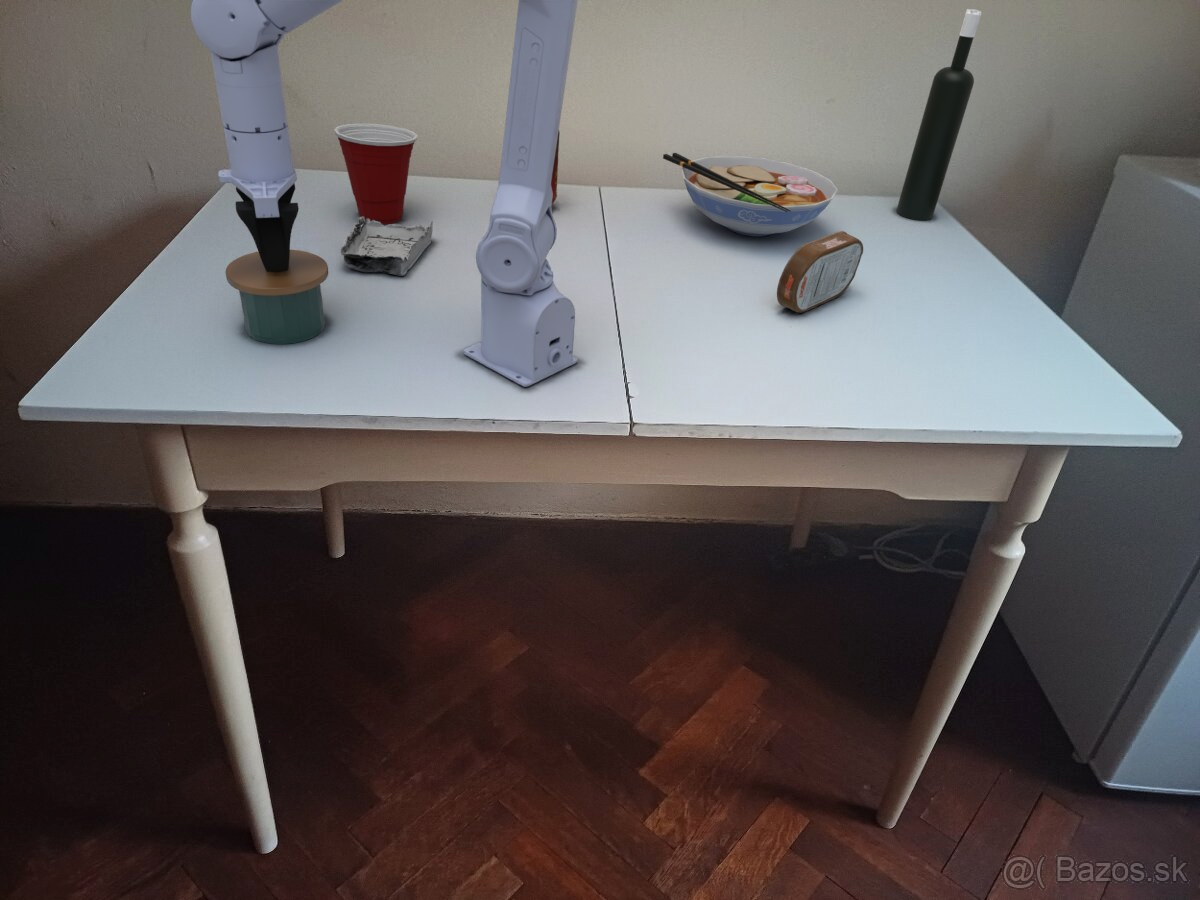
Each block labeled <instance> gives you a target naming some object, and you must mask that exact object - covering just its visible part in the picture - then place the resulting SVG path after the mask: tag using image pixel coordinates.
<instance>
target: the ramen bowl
mask: <svg viewBox="0 0 1200 900" xmlns="http://www.w3.org/2000/svg"><path fill="white" fill-rule="evenodd" d="M662 159H663V160H665V161H668V162H670V163H672V164H675V165H677V166H679V167H681V168H680V172H681V175H682V178H683V181H684V185H685V187H686V188H685V189H686V191H687V192H688V194H689V197H690V199H691V201H692V202H693V203H694V205H695V207H696V209H698V210H699V211H700V212H701V213H702V214H703V215H705V216H707V218H708V219H710V220H711V221H713V222H714V223H716V224H718V225H721V226H723V227H726V228H727V229H728V230H730V231H731V232H734V233H736V234H737V235H738V234H739V235H744V236H749V237H758V238H759V237H767V236H770V235H773V234H782V233H788V232H790V231H791V232H792V231H793V230H796V229H798V228H800V227H804V226H805V225H808V224H810V222H812V221H814V220H815V219H816V218H818V216H819V215H820V214H821V213H823V212H824V210H825V209H826V208H827V207H828V205H830V203H831V201H832V200H833V199H834V197H835V196H836V194H837V193H838V191H839V189H838V188H837V187H836V185H835V184H834V183H833V181H832V180H831V179H830V178H829V177H826V176H824V175H823V174H821V173H819V172H817V171H816V170H813V169H810V168H806V167H804V166H800V165H797V164H794V163H791V162H786V161H782V160H777V159H771V158H766V157H759V156H758V157H757V156H747V155H746V156H744V155H718V156H717V155H716V156H715V155H714V156H712V155H711V156H705V157H701V158H698V159H694V160H691V159H689V158H687V157H686V156H683V155H681V154H679V153H678V152H672V155H670V154H668V153H664V154H663V155H662Z"/></svg>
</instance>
